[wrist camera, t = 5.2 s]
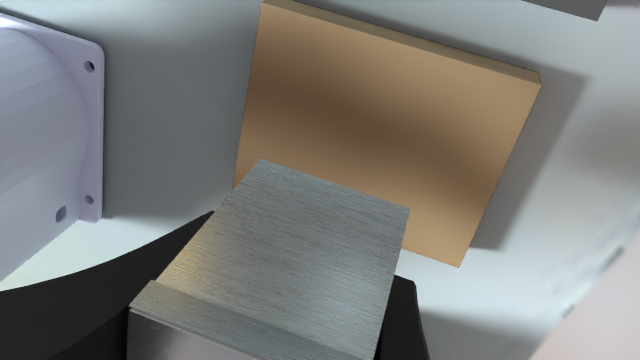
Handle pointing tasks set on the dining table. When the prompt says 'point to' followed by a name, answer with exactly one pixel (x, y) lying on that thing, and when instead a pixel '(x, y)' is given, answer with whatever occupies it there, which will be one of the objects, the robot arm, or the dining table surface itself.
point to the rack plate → (574, 7)
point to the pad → (384, 118)
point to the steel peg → (275, 276)
